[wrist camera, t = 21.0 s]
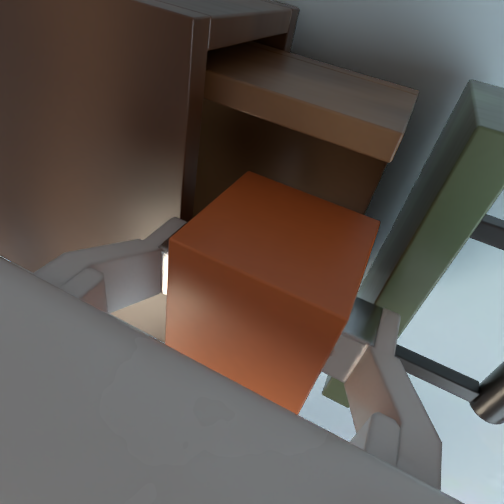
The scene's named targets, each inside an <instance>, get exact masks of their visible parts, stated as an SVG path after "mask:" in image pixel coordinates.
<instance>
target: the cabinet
mask: <svg viewBox="0 0 504 504" xmlns="http://www.w3.org/2000/svg"><path fill="white" fill-rule="evenodd" d="M298 14H299V8H297V7H294V6H290V5H286V4H282V3H279V2H275V1H271V0H0V256H2V257H4V258H6V259H8V260H10V261H12V262H13V263H15V264H17V265H19V266H21V267H23V268H25V269H27V270H29V271H30V272H32V273H34V272H36V271H37V270H39V269H40V268H42V267H43V266H45V265H46V264H48V263H49V262H51V261H52V260H54V259H55V258H57V257H58V256H60V255H61V254H63V253H65V252H70V251H75V250H81V249H86V248H91V247H97V246H102V245H108V244H113V243H118V242H124V241H129V240H134V239H141V240H144V239H145V238H147V237H148V236H149V235H150V234H152V233H153V232H154V231H156V230H157V229H158V228H159V227H161V226H162V225H163V224H164V223H166V222H167V221H168V220H170V219H171V218H173V217H177V218H179V219H182V220H184V221H186V222H189V221H190V220H191V219H192V218H193V208H194V197H195V186H196V174H197V163H198V152H199V141H200V129H201V118H202V107H203V96H204V84H205V73H206V62H207V51H210V50H214V49H218V48H223V47H227V46H232V45H236V44H240V43H245V42H249V41H253V42H256V43H260V44H263V45H266V46H270V47H273V48H277V49H280V50H283V51H287V52H290V50H291V46H292V41H293V37H294V32H295V28H296V23H297V18H298ZM166 303H167V295H165V294H163V293H161V292H160V294H158V295H156V296H153V297H150V298H148V299H145V300H143V301H140V302H138V303H135V304H133V305H130V306H127V307H125V308H122V309H120V310H117V311H115V312H112V313H110V314H111V315H113V316H115V317H117V318H119V319H121V320H123V321H125V322H126V323H128V324H130V325H132V326H134V327H136V328H138V329H140V330H142V331H143V332H145V333H147V334H149V335H151V336H153V337H155V338H157V339H158V340H160V341H162V342H164V343H165V331H166Z"/></svg>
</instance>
